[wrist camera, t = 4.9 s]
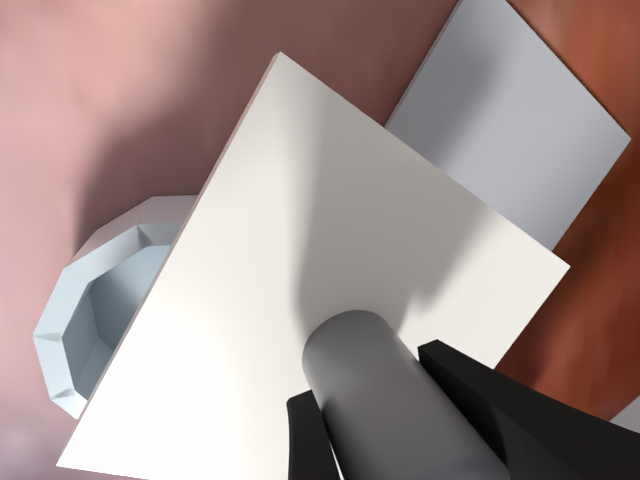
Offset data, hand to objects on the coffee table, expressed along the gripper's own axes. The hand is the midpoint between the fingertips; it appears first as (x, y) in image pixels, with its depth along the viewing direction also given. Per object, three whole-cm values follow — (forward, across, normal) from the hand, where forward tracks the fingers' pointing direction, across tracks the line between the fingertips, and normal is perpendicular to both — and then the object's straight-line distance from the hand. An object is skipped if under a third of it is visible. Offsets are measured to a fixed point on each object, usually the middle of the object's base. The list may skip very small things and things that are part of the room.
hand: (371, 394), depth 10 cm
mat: (+10, -11, -1) cm, 15 cm away
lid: (+3, 0, 0) cm, 3 cm away
